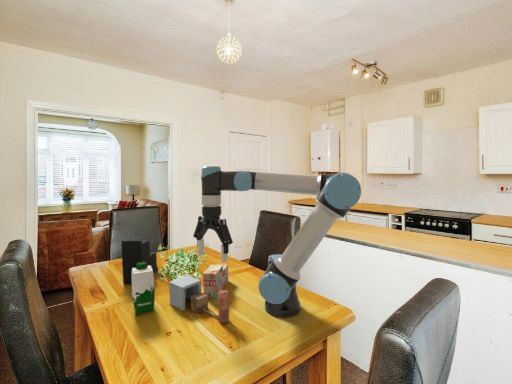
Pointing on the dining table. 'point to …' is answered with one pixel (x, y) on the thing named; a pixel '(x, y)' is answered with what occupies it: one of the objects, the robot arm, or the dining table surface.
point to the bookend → (136, 257)
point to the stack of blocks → (215, 280)
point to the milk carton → (143, 288)
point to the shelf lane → (183, 290)
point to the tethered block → (201, 304)
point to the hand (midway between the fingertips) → (212, 258)
